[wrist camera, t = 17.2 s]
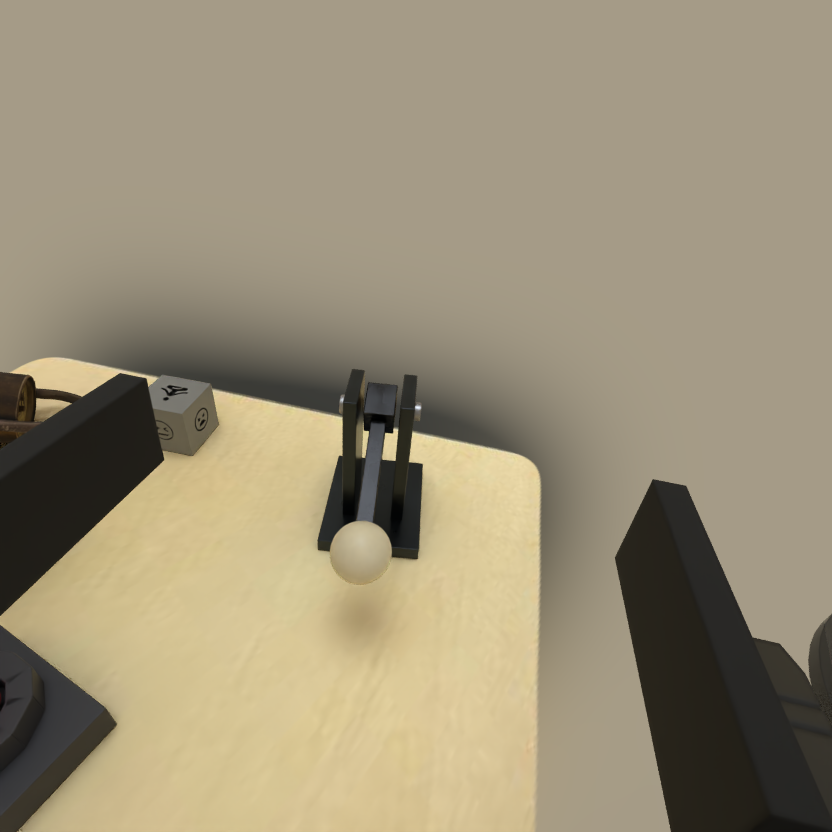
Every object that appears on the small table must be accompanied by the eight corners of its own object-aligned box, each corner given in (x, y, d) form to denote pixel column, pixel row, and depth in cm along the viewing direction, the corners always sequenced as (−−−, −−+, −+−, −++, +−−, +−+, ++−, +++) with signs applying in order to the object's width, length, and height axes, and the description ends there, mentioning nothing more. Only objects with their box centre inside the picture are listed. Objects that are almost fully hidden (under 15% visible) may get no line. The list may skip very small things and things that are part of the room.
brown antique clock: (-11, 349, 47) (-113, 386, 38) (120, 349, 47) (50, 386, 38) (15, 416, 50) (-74, 466, 41) (138, 416, 50) (77, 465, 41)
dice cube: (218, 424, 50) (210, 383, 47) (192, 455, 46) (181, 414, 43) (173, 415, 50) (162, 374, 47) (143, 446, 46) (129, 404, 43)
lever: (387, 594, 30) (389, 577, 27) (327, 589, 30) (322, 570, 27) (405, 409, 39) (409, 380, 36) (358, 405, 39) (357, 374, 35)
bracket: (417, 559, 39) (436, 437, 31) (318, 549, 39) (311, 425, 31) (421, 472, 47) (437, 358, 39) (339, 464, 47) (338, 348, 39)
